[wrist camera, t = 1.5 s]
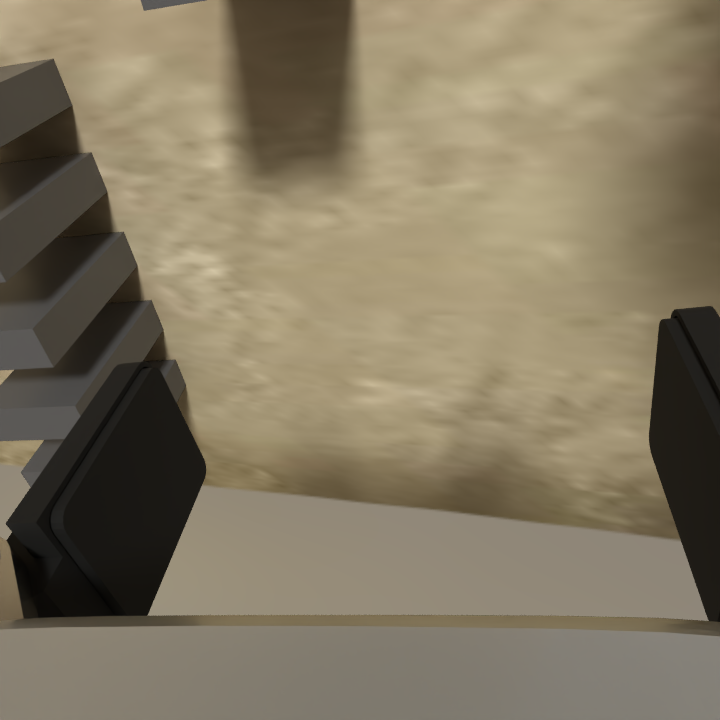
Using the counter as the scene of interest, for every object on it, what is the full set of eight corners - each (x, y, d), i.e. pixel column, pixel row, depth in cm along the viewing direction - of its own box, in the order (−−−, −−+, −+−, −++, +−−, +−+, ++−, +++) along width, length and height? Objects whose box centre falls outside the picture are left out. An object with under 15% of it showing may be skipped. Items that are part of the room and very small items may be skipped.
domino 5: (71, 306, 36) (-22, 409, 29) (151, 300, 35) (74, 406, 28) (85, 334, 37) (-1, 440, 30) (163, 329, 36) (92, 438, 29)
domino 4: (38, 239, 34) (-72, 335, 27) (123, 231, 33) (32, 329, 26) (55, 272, 35) (-47, 372, 28) (137, 265, 34) (53, 367, 27)
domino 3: (1, 163, 31) (-133, 246, 24) (91, 152, 30) (-20, 235, 23) (19, 201, 32) (-103, 291, 25) (107, 191, 31) (6, 282, 24)
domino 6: (100, 363, 39) (20, 472, 32) (175, 359, 38) (111, 470, 31) (112, 388, 40) (38, 498, 33) (185, 385, 39) (125, 498, 32)
